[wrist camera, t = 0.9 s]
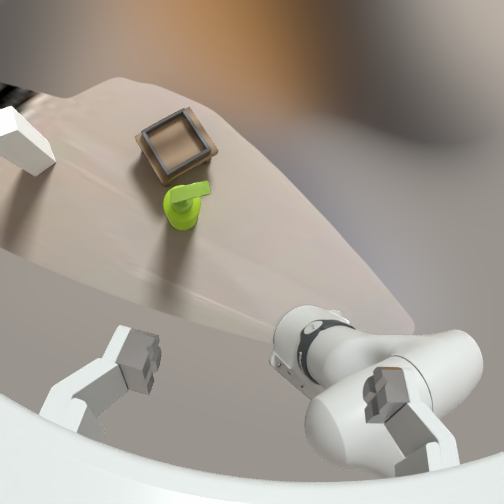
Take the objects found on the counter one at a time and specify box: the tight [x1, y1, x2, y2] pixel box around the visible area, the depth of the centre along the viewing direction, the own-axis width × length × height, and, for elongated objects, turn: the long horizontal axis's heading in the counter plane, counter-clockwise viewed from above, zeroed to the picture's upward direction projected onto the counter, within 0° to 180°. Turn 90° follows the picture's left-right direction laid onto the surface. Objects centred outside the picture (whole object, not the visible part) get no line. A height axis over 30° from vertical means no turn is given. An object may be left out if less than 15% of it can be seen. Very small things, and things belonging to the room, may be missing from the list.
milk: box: [0, 106, 56, 177], centre depth 42 cm, size 6×6×22 cm
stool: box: [135, 107, 218, 186], centre depth 55 cm, size 11×12×8 cm
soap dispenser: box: [163, 181, 211, 231], centre depth 49 cm, size 6×7×20 cm
